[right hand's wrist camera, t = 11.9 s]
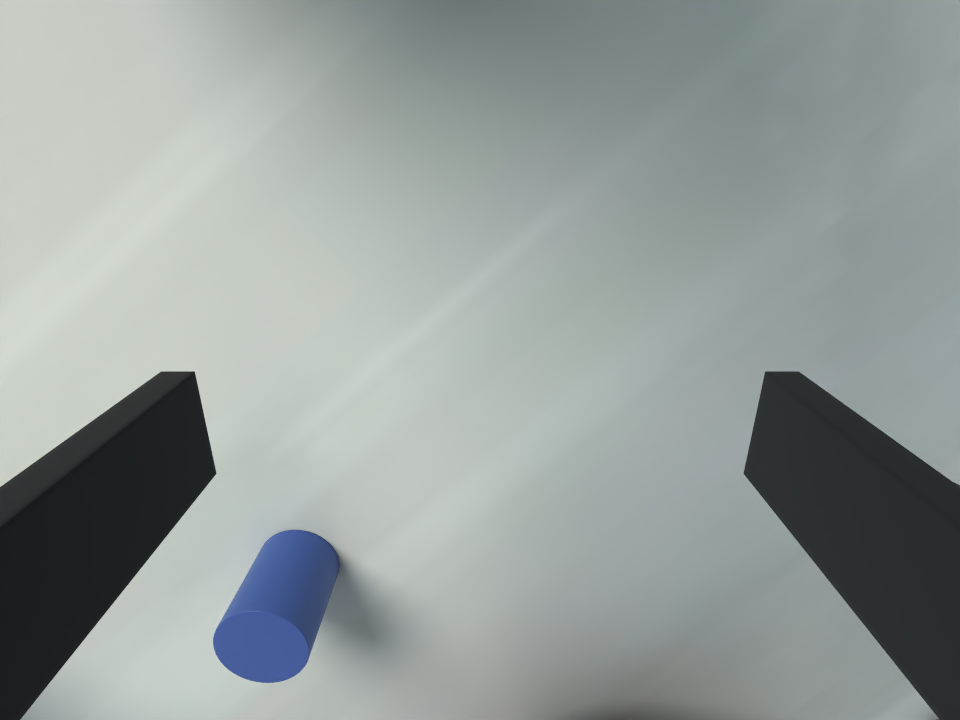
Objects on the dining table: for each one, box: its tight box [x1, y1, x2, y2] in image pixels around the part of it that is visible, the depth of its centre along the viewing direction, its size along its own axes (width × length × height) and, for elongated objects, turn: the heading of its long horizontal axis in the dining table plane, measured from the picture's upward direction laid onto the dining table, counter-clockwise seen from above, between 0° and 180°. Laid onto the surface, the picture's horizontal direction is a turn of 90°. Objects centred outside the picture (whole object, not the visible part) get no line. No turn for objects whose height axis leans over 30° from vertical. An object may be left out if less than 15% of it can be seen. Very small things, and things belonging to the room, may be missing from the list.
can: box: [213, 530, 339, 683], centre depth 36 cm, size 6×6×8 cm
